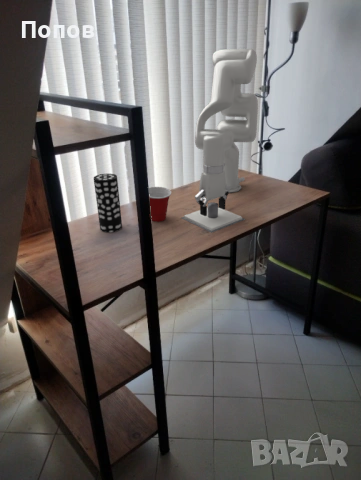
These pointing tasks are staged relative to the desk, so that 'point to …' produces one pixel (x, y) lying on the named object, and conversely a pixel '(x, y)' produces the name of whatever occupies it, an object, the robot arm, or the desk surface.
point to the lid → (213, 217)
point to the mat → (215, 229)
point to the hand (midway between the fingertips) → (212, 211)
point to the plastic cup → (159, 202)
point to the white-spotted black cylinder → (108, 202)
